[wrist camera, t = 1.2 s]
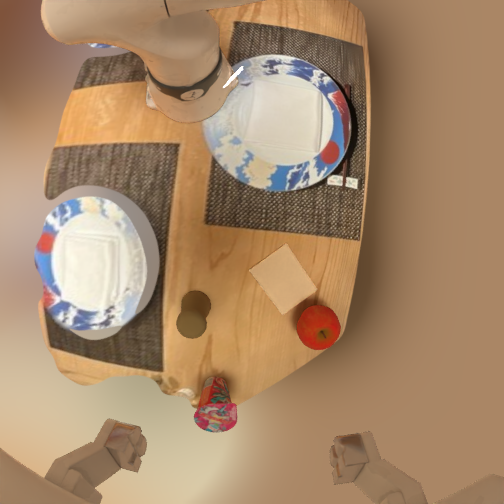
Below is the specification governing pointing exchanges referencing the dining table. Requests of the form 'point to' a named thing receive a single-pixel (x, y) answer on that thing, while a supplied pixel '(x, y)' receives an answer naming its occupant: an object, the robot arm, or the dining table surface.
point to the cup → (215, 407)
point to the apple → (318, 327)
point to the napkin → (283, 279)
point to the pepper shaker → (193, 314)
